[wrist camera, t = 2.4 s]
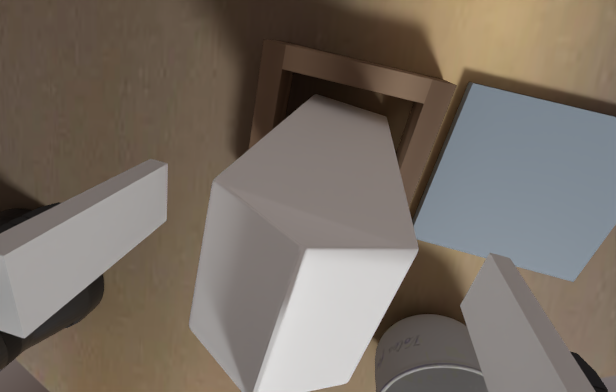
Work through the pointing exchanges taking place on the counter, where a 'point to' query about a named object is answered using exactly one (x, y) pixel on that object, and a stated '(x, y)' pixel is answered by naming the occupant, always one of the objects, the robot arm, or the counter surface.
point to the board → (522, 182)
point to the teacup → (427, 357)
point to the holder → (391, 81)
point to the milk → (303, 250)
